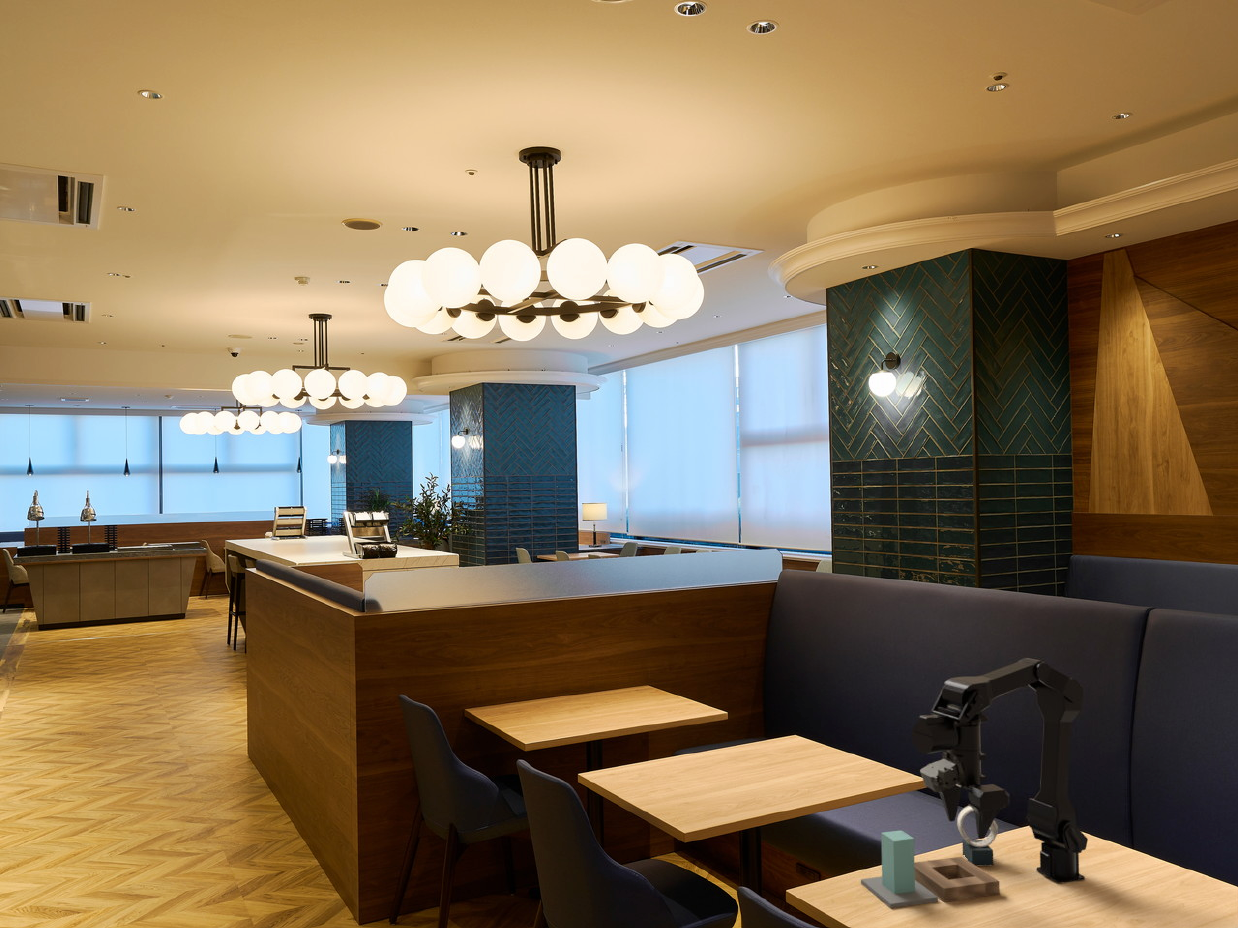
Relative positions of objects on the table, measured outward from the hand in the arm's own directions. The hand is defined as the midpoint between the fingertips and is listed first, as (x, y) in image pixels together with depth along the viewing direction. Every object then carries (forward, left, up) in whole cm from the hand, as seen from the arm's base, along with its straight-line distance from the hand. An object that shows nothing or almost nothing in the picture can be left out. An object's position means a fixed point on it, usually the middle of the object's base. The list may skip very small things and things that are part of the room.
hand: (966, 829), depth 174 cm
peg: (+11, -6, -12) cm, 17 cm away
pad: (+11, -6, -13) cm, 18 cm away
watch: (-13, -15, -13) cm, 24 cm away
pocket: (-1, -6, -13) cm, 14 cm away
